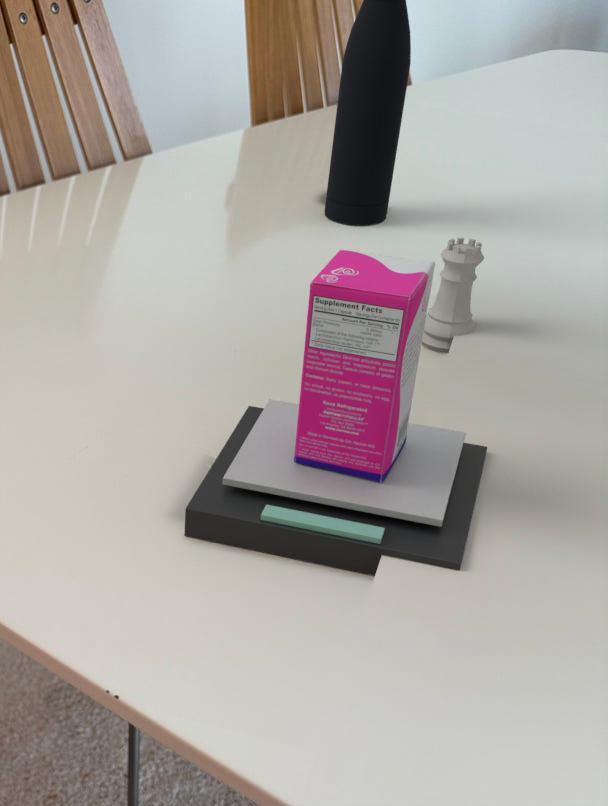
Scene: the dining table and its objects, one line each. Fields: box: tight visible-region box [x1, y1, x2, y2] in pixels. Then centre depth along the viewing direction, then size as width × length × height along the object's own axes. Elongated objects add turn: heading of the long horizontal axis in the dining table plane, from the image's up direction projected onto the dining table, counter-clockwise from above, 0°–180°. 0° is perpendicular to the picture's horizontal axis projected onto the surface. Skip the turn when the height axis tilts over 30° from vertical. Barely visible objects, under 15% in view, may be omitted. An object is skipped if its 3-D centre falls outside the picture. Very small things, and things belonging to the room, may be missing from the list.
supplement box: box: [294, 248, 436, 483], centre depth 61 cm, size 6×6×12 cm
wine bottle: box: [324, 0, 412, 227], centre depth 99 cm, size 6×6×30 cm
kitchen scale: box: [183, 399, 488, 576], centre depth 65 cm, size 16×14×3 cm
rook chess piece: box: [421, 237, 485, 354], centre depth 82 cm, size 4×4×8 cm
